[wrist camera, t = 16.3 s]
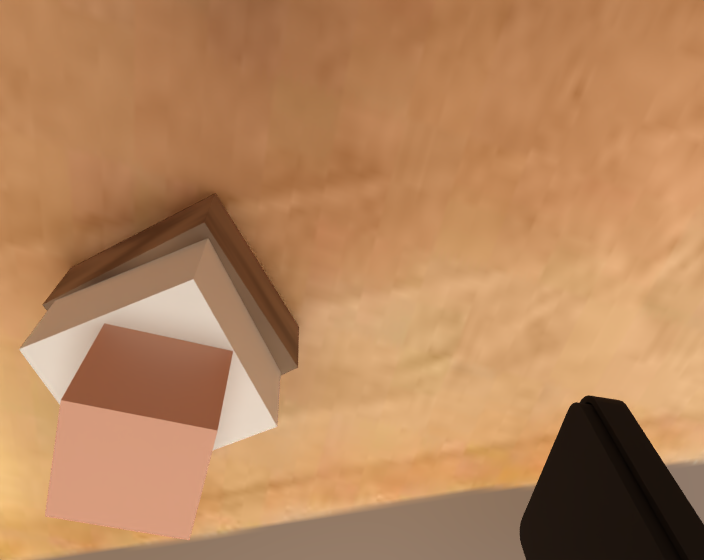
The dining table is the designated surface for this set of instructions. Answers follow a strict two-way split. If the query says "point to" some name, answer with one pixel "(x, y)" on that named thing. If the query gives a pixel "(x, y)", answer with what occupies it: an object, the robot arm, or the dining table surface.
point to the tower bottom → (233, 254)
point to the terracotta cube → (138, 432)
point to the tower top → (167, 331)
